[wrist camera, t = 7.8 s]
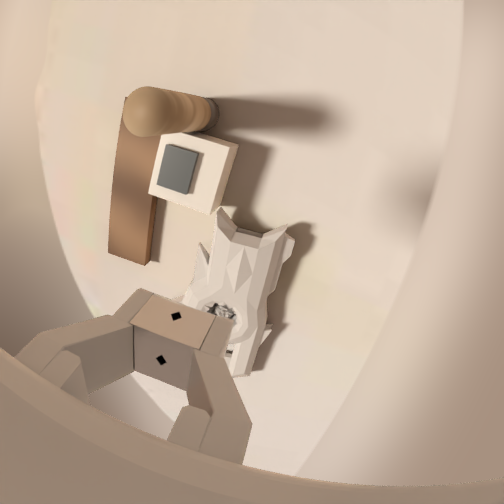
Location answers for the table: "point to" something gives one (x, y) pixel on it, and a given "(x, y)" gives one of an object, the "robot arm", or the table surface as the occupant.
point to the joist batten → (132, 197)
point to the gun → (239, 284)
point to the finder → (192, 170)
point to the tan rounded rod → (167, 112)
